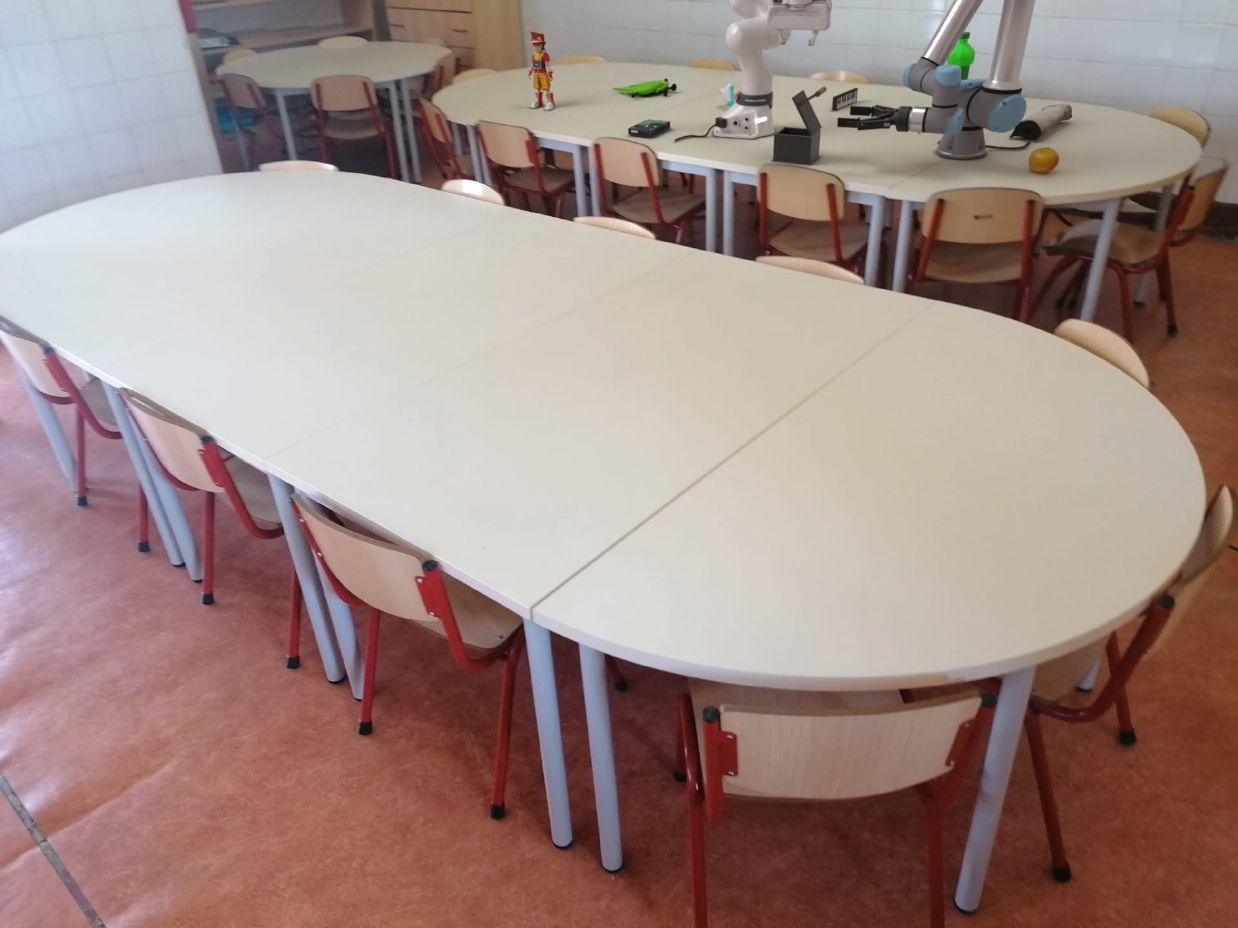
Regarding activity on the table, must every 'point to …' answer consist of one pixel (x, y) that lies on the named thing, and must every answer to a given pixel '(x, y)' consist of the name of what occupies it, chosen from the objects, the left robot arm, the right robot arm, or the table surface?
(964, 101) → the right robot arm
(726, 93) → the anatomical model
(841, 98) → the midi keyboard
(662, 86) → the toy
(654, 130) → the disk drive
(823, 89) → the lid
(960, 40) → the plastic bottle
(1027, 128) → the rolled mat
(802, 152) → the chest
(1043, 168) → the fruit
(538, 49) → the toy
